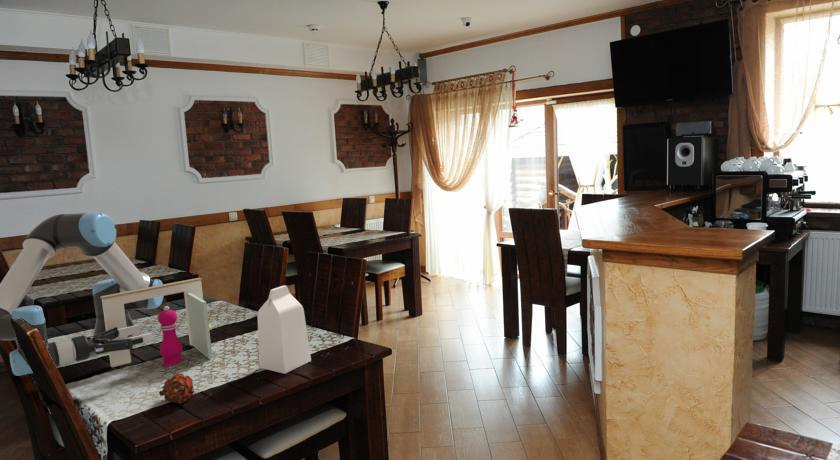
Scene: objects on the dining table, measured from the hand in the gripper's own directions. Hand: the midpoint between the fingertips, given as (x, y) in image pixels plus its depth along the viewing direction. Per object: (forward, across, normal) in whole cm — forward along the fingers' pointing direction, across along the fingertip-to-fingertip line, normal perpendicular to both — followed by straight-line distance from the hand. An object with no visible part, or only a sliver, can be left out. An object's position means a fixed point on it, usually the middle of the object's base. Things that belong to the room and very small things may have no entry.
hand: (146, 332), depth 185 cm
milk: (+32, +33, -13) cm, 48 cm away
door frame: (+8, -13, -13) cm, 20 cm away
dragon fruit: (-3, +34, -13) cm, 36 cm away
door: (+19, -2, -12) cm, 22 cm away
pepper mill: (+7, 0, -13) cm, 15 cm away
